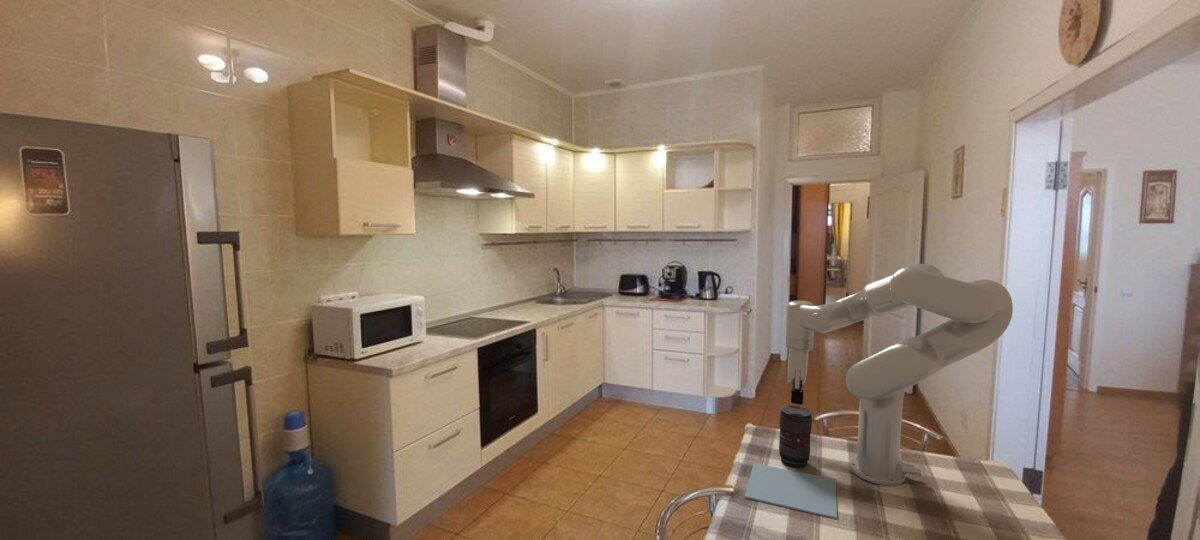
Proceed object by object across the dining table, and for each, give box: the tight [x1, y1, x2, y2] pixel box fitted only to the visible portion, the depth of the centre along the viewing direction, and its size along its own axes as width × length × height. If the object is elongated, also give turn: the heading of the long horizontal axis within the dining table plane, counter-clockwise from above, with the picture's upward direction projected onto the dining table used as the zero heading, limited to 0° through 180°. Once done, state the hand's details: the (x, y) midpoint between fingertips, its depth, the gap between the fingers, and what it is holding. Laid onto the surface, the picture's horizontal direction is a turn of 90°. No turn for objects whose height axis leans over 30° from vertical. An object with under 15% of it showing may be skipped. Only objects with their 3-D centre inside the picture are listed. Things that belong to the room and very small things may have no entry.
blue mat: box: [743, 462, 838, 520], centre depth 117 cm, size 20×17×1 cm
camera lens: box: [778, 404, 813, 469], centre depth 129 cm, size 8×8×15 cm
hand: (796, 402), depth 140 cm, fingers closed
